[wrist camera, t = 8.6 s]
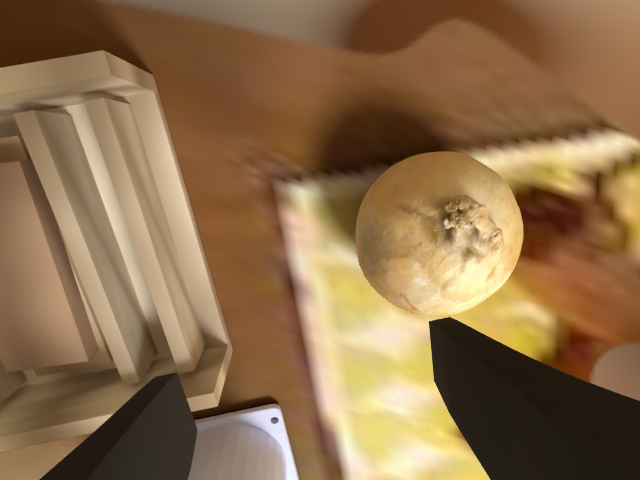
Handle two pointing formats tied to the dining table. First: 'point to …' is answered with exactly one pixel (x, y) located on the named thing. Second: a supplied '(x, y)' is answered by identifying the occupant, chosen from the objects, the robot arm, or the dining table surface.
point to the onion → (438, 233)
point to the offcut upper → (36, 280)
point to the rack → (113, 244)
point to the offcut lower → (17, 151)
